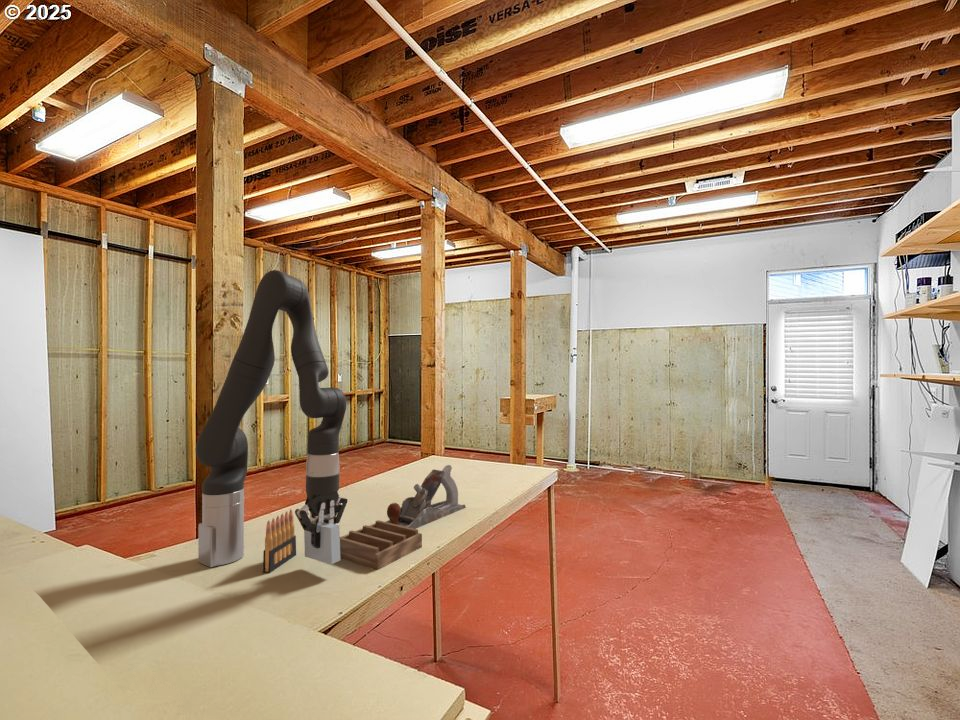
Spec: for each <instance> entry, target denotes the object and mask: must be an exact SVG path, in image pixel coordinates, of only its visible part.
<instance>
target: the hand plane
mask: <svg viewBox="0 0 960 720" xmlns="http://www.w3.org/2000/svg"><path fill="white" fill-rule="evenodd" d="M452 469H453V467H452V466H451V464H450V465H449V464H448V465H445V466H444V467H443V468H442V469H441V470H440V469H432V470H431V471H430V472H429V473H428V474H427V476H426V477H425V478H424V480H423V482H422V483H421V485H420V484H419V483H417V484H414V486H413V489H414V491H415V492H416V494H415V495H414V496H410V497H406V498H405V499H404V500H403V501H402V503H401V506H400V504H398V503H397V502H391V503H390V504H389V505H388V507H387V510H386V515H387V518H388V520H385V522H388V523H392V524H396V525H400V526H405V527H409V528H413V529H418V528H421V527H423V526H425V525H428V524H430V523H432V522H436V521H438V520H440V519H442V518H445V517H448V516H450V515H452V514H454V513H457V512H459V511H462V510H464V509H466V507H467V506H466V504H461V503H460V504H459V489H458V486H457V483H456V481H455V479H454V478H453V477H452V476H451V472H452ZM441 484H442V486H443V488H444V490H445V493H446V494H445V495H446V496H445V497H446V498H445V500H442V501H439V502H435V503H432V500H433V498H434V497H435V495H436V494H437V491H438V489H439V487H440V486H441Z"/></svg>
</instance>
